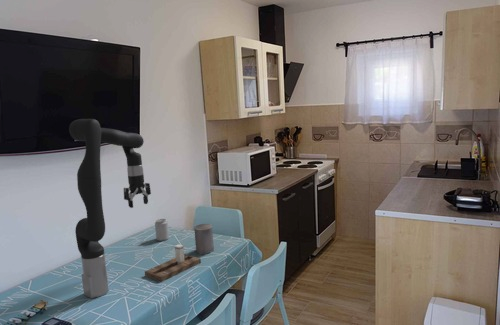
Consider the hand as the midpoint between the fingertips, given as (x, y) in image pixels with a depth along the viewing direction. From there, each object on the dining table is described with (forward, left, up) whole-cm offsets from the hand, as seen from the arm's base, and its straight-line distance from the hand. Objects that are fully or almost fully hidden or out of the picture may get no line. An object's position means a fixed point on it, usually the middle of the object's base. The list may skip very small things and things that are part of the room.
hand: (138, 205), depth 195 cm
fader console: (+3, -20, -30) cm, 36 cm away
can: (+28, +20, -30) cm, 46 cm away
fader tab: (+7, -20, -29) cm, 36 cm away
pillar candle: (+28, -16, -30) cm, 44 cm away
